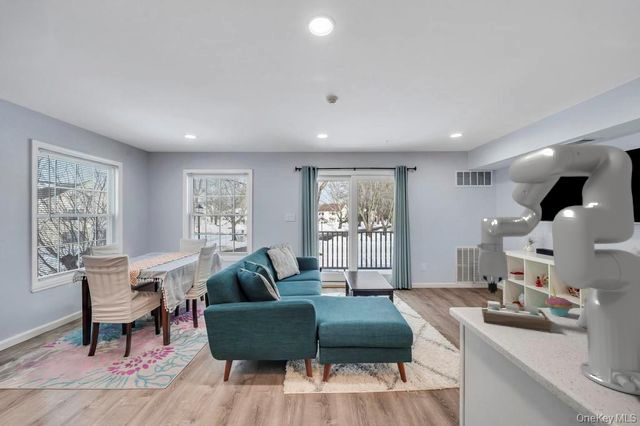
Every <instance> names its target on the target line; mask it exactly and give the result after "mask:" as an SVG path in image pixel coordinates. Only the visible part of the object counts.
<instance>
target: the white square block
mask: <svg viewBox="0 0 640 426" xmlns="http://www.w3.org/2000/svg"><path fill="white" fill-rule="evenodd" d="M487 303H488V307H494V308H500V305H501V303H500V301H494V300H493V301H492V300H487Z"/></svg>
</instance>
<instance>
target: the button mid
mask: <svg viewBox="0 0 640 426" xmlns="http://www.w3.org/2000/svg"><path fill="white" fill-rule="evenodd" d="M504 305H505V308H506V309H510V310H518V311H519V307H520V306H519V304H518V303H513V302H512V303H511V302H505V303H504Z"/></svg>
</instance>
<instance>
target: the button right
mask: <svg viewBox="0 0 640 426" xmlns="http://www.w3.org/2000/svg"><path fill="white" fill-rule="evenodd" d="M523 308H524V311H526V312H535V313H539V307H538V306H537V305H531V304H523Z"/></svg>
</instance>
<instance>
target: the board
mask: <svg viewBox="0 0 640 426" xmlns="http://www.w3.org/2000/svg"><path fill="white" fill-rule="evenodd" d="M482 308H488V309H482ZM502 308H505V304H504V305H503V304H500V308H494V307H488V302H481V314H482V320H483V323H484V324H491V325H498V326H504V327H511V328H516V329H517V328H519V329H525V330H532V331H538V332H545V333H552V323H551V322H552V321H551V319H550V318H549V317H548V316H547V315H546V314H545V313H544V311H542V309H539V308H538V309H539V313H535V312H526V311H524V306H522V307H521V306H519V311H518V310H510V309H502Z"/></svg>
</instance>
